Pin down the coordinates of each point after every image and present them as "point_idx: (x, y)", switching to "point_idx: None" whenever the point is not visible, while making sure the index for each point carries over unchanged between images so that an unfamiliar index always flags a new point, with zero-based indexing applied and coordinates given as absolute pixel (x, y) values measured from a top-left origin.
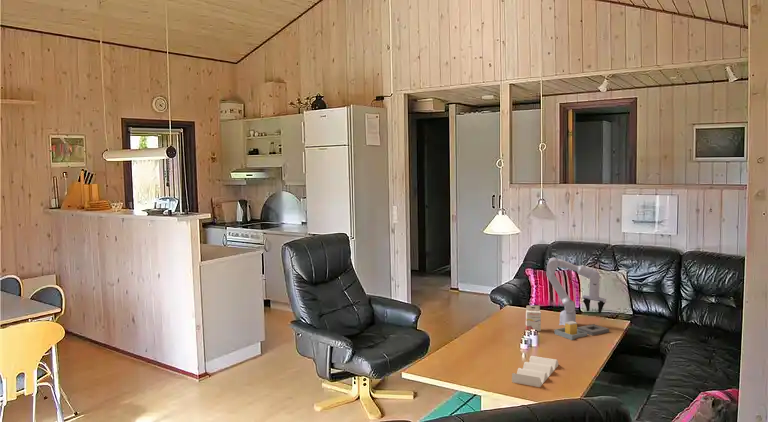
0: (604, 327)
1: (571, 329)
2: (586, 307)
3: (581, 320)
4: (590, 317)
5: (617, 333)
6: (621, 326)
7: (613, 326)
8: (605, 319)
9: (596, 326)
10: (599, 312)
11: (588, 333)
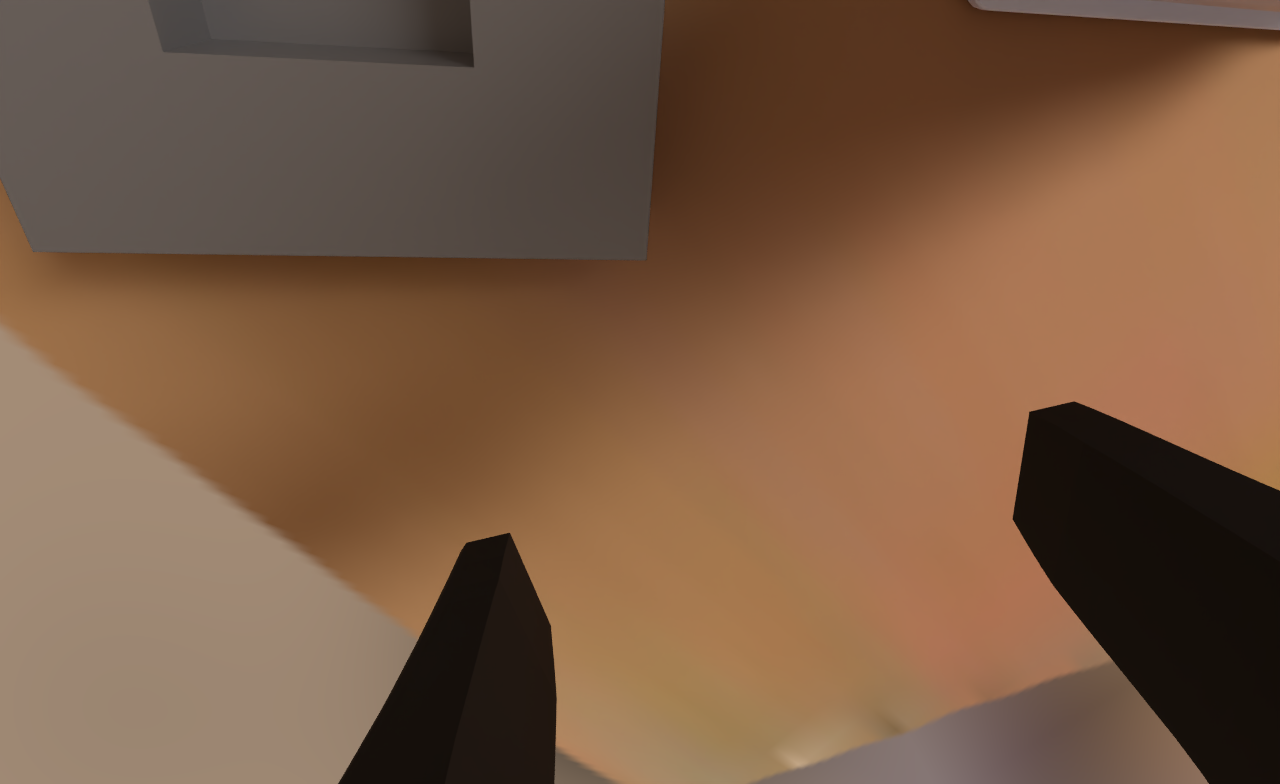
0: (219, 243)
1: None
2: (1250, 499)
3: None
4: (1057, 638)
5: (70, 366)
6: None
7: None
8: (852, 712)
9: (408, 121)
10: (447, 582)
11: None
